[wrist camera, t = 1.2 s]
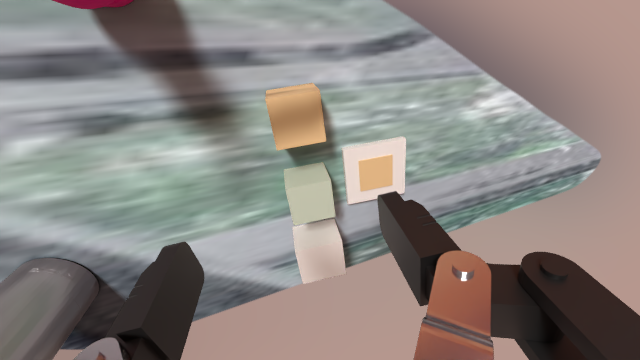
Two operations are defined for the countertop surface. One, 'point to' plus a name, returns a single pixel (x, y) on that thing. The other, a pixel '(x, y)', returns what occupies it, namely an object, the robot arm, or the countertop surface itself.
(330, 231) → the base block
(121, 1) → the pepper mill
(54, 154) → the countertop surface
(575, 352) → the robot arm
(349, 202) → the tile
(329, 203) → the sage block
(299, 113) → the maple block
